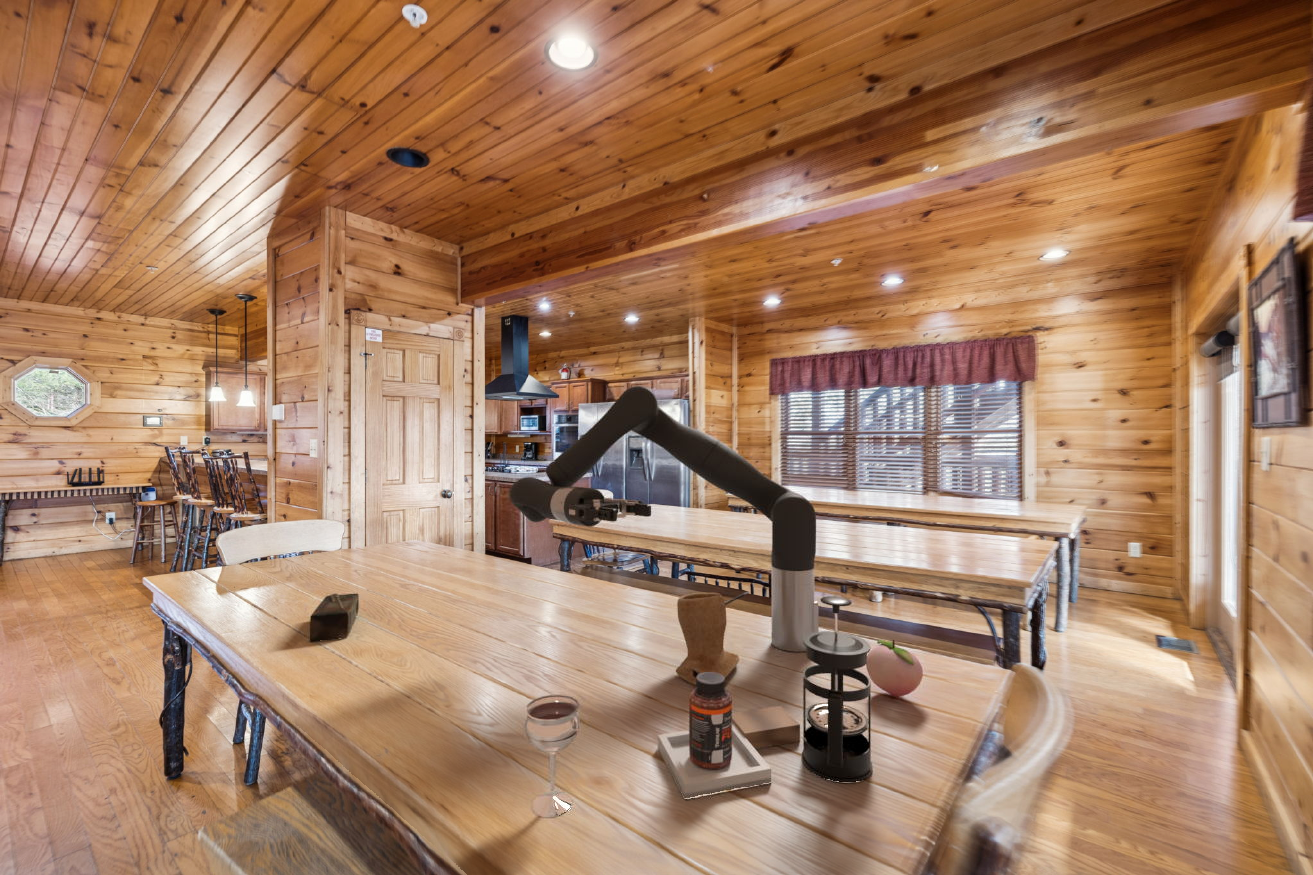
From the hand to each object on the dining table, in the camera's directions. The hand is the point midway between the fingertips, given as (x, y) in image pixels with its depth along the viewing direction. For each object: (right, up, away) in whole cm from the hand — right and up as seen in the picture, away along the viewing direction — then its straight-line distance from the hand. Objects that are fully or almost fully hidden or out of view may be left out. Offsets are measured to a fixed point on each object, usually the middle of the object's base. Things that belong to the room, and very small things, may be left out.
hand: (633, 513), depth 99 cm
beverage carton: (-73, -33, +33) cm, 87 cm away
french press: (+29, -32, -23) cm, 49 cm away
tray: (+12, -32, -23) cm, 41 cm away
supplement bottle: (+12, -31, -23) cm, 41 cm away
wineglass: (-9, -32, -31) cm, 46 cm away
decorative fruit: (+46, -32, -3) cm, 56 cm away
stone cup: (+13, -32, +8) cm, 36 cm away
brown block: (+21, -32, -15) cm, 41 cm away
